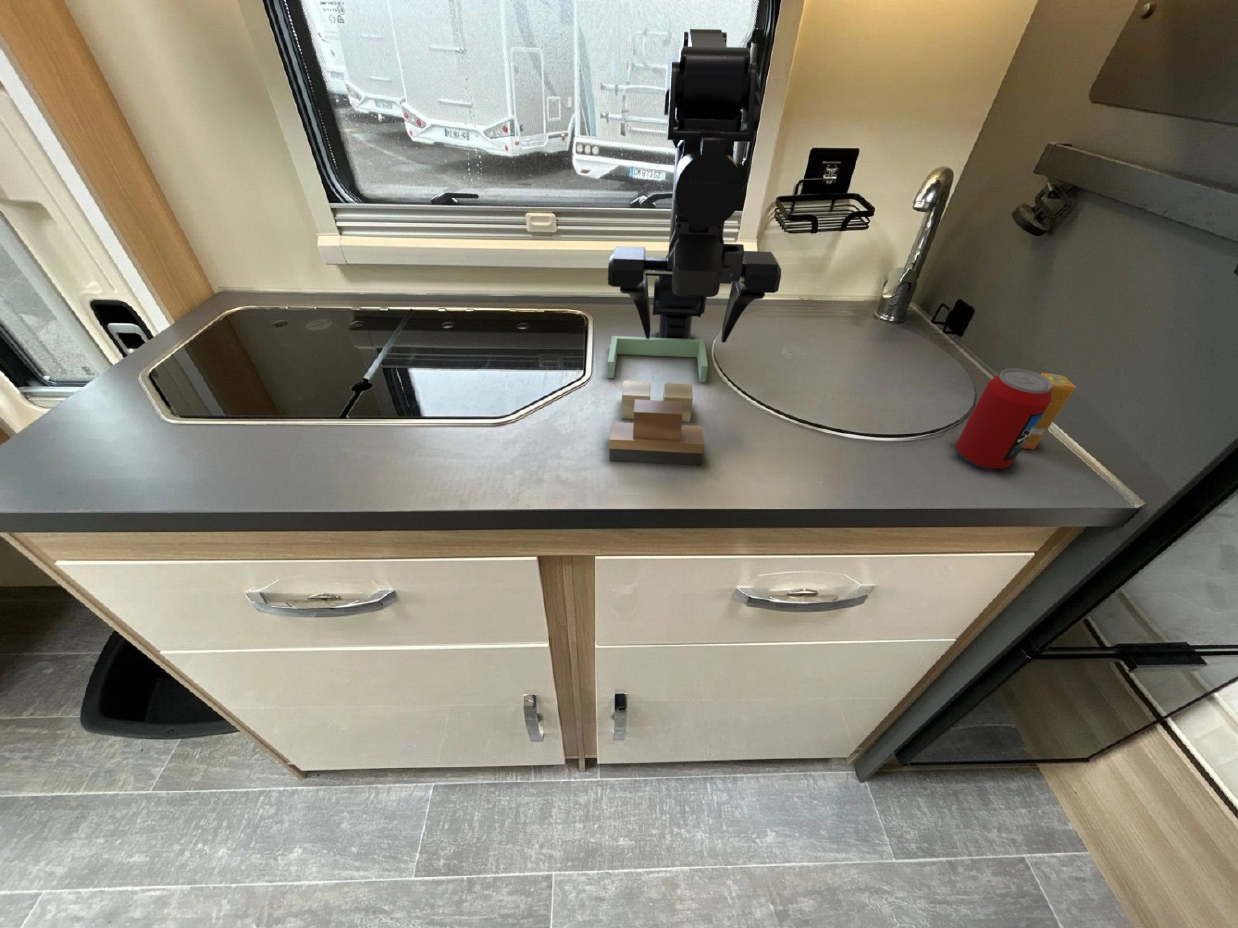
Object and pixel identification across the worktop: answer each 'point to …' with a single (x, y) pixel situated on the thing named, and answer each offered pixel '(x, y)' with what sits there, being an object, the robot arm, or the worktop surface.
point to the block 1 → (633, 396)
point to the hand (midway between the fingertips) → (685, 339)
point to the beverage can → (1004, 417)
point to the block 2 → (680, 397)
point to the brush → (656, 436)
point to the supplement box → (1051, 407)
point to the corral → (658, 350)
